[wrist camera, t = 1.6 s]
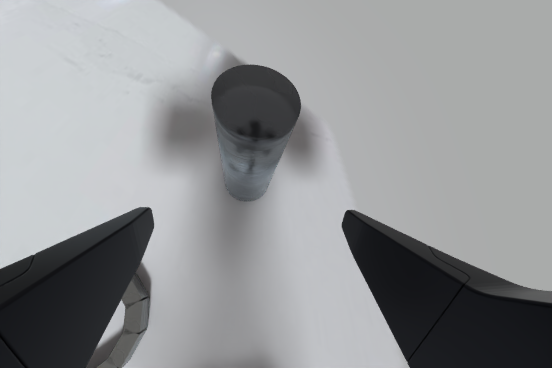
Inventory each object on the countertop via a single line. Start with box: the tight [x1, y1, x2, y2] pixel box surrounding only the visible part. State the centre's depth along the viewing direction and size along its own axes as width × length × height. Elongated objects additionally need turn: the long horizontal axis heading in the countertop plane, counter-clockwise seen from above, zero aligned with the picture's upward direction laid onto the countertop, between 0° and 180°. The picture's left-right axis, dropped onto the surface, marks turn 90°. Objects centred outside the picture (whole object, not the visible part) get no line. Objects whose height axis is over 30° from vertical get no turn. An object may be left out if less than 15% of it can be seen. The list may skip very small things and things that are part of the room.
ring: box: [96, 274, 149, 368], centre depth 16 cm, size 9×9×1 cm
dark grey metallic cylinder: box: [211, 65, 301, 201], centre depth 17 cm, size 5×5×13 cm
